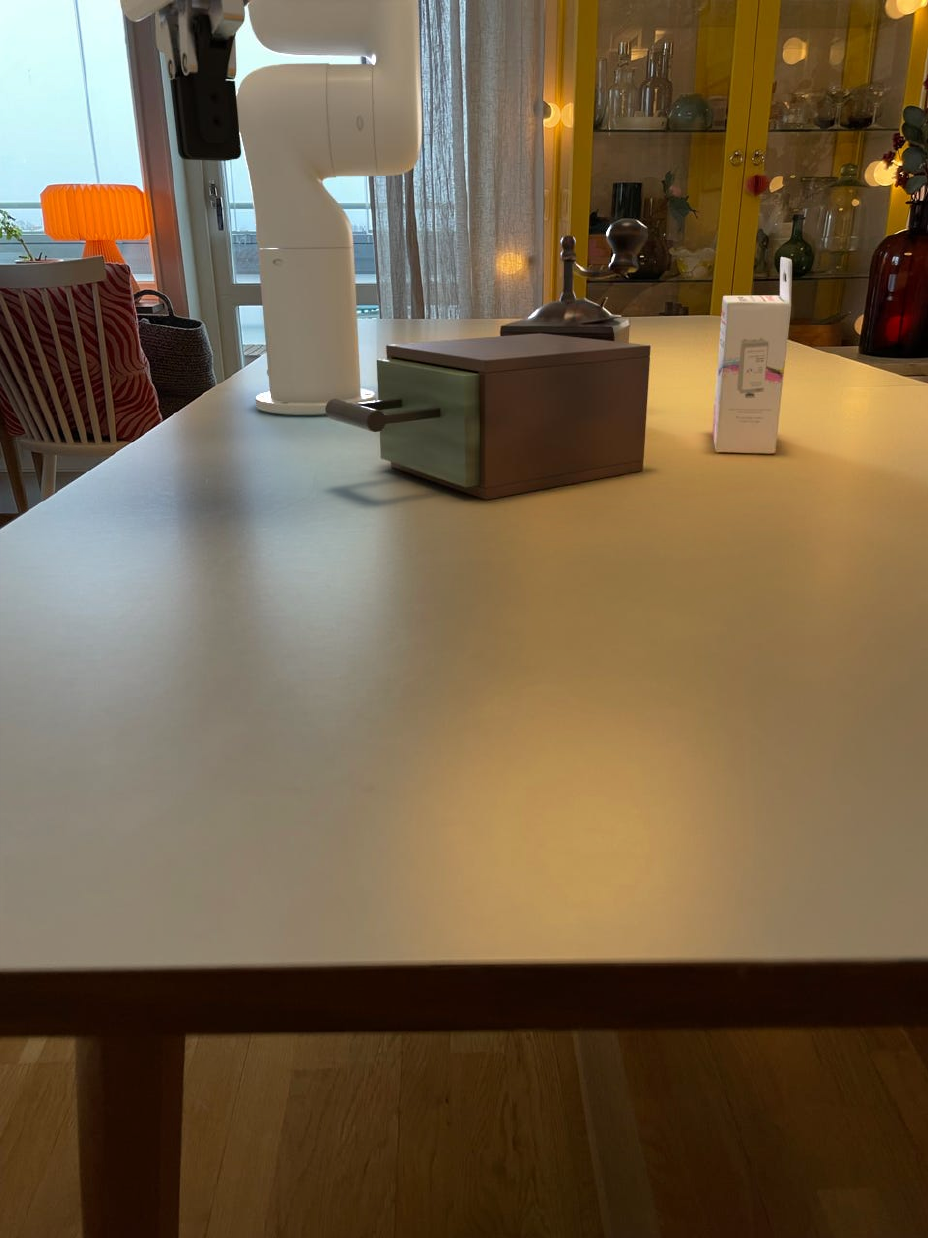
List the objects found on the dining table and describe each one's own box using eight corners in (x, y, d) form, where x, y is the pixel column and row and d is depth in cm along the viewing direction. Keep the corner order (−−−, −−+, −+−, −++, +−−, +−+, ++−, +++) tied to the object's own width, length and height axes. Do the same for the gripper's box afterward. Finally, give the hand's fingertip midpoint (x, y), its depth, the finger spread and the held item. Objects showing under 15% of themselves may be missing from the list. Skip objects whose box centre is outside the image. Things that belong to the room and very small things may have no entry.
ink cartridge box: (708, 433, 84) (724, 256, 78) (766, 434, 83) (786, 256, 77) (712, 453, 76) (730, 258, 70) (776, 455, 75) (799, 258, 69)
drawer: (391, 500, 59) (387, 383, 56) (312, 468, 68) (304, 365, 65) (615, 461, 69) (620, 359, 66) (521, 437, 78) (522, 346, 75)
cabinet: (485, 500, 63) (485, 360, 59) (390, 466, 72) (385, 344, 69) (643, 470, 70) (651, 345, 67) (538, 443, 80) (540, 333, 77)
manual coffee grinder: (618, 438, 82) (630, 214, 75) (496, 432, 85) (497, 216, 78) (641, 410, 95) (652, 218, 89) (535, 405, 99) (538, 220, 92)
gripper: (57, -209, 51) (108, 165, 58) (139, -338, 40) (192, 146, 47) (191, -178, 55) (224, 168, 62) (301, -288, 43) (327, 152, 50)
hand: (210, 158), depth 54 cm, fingers closed
